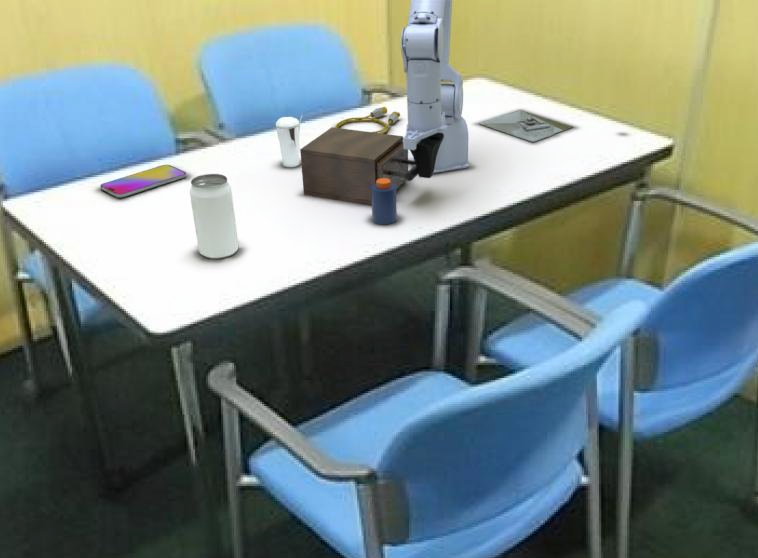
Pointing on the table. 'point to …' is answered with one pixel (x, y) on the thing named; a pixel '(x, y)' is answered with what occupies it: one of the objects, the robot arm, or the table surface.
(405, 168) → the drawer
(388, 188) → the glue bottle
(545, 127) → the mousepad
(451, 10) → the robot arm
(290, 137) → the milkshake
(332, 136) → the cabinet
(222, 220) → the can
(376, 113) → the extension cord
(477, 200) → the table surface
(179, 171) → the smartphone
